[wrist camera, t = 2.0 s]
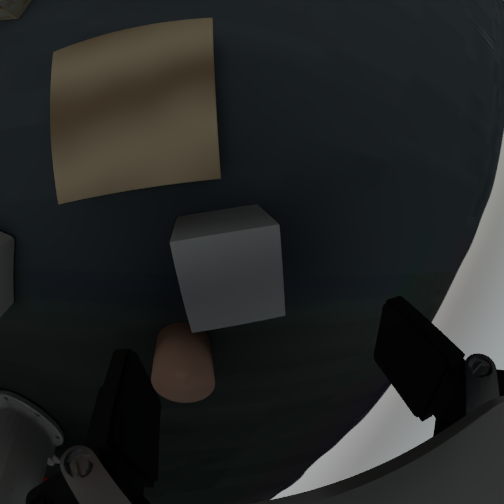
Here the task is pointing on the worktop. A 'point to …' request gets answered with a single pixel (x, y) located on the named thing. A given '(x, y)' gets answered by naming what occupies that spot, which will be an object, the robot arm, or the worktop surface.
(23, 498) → the robot arm
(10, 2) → the coffeecake box
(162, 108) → the oak block
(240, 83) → the worktop surface
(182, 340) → the terracotta cylinder
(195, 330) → the grey cube
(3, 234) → the medicine bottle
